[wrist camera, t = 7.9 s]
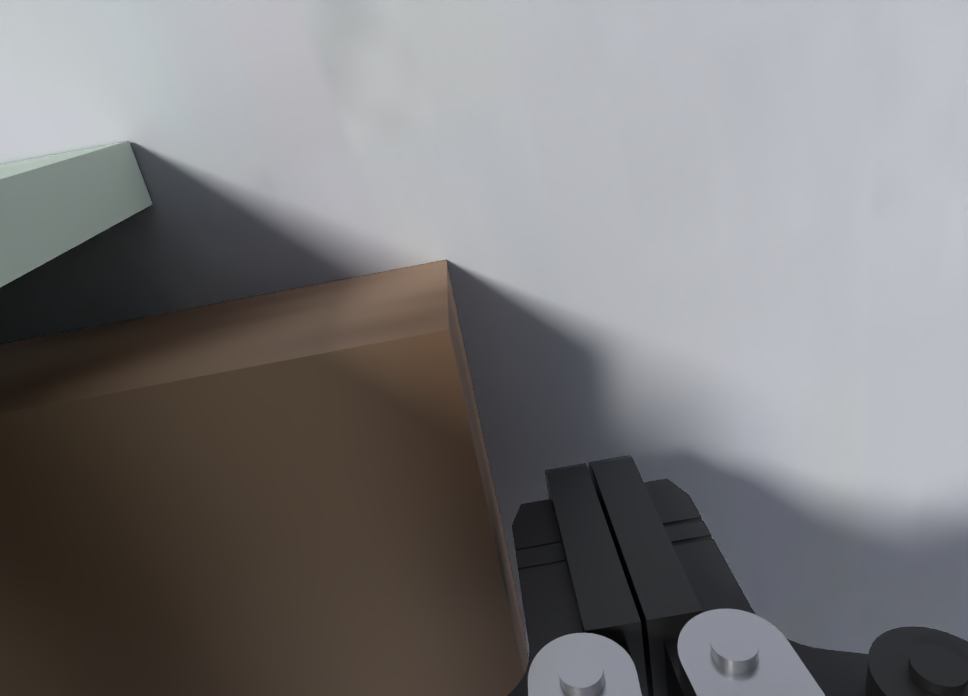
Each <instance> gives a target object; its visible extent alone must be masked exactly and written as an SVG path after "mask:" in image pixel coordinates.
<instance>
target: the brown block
mask: <svg viewBox="0 0 968 696" xmlns="http://www.w3.org/2000/svg"><path fill="white" fill-rule="evenodd" d="M528 662H529V660H528V653H527V646H526V639H525V633H524V628H523V623H522V619H521V614H520V609H519V604H518V599H517V595H516V590H515V585H514V580H513V576H512V571H511V566H510V561H509V556H508V552H507V547H506V542H505V537H504V533H503V528H502V523H501V518H500V513H499V509H498V504H497V499H496V494H495V490H494V485H493V480H492V475H491V470H490V466H489V461H488V456H487V451H486V447H485V442H484V437H483V432H482V428H481V423H480V418H479V413H478V408H477V404H476V399H475V394H474V389H473V385H472V380H471V375H470V370H469V365H468V361H467V356H466V351H465V346H464V342H463V337H462V332H461V327H460V322H459V318H458V313H457V308H456V303H455V299H454V294H453V289H452V284H451V279H450V275H449V270H448V265H447V260H442V261H436V262H431V263H426V264H421V265H415V266H410V267H405V268H400V269H395V270H389V271H384V272H379V273H374V274H368V275H363V276H358V277H353V278H347V279H342V280H337V281H332V282H327V283H321V284H316V285H311V286H306V287H300V288H295V289H290V290H285V291H279V292H274V293H269V294H264V295H258V296H253V297H248V298H243V299H238V300H232V301H227V302H222V303H217V304H211V305H206V306H201V307H196V308H190V309H185V310H180V311H175V312H169V313H164V314H159V315H154V316H149V317H143V318H138V319H133V320H128V321H122V322H117V323H112V324H107V325H101V326H96V327H91V328H86V329H80V330H75V331H70V332H65V333H60V334H54V335H49V336H44V337H39V338H33V339H28V340H23V341H18V342H12V343H7V344H2V345H0V696H507V695H509V694H510V693H511V692H512V691H513V689H514V688H515V687H516V686H517V685H518V683H519V682H520V681H521V679H522V677H523V675H524V673H525V671H526V669H527V665H528Z"/></svg>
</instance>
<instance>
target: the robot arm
mask: <svg viewBox="0 0 968 696" xmlns="http://www.w3.org/2000/svg"><path fill="white" fill-rule="evenodd" d="M545 475H546V482H547V489H548V495H549V499H548V500H543V501H537V502H531V503H525V504H521V506H520V508H519V510H518V513H517V515H516V518H515V520H514V522H513V525H512V530H513V537H514V544H515V550H516V557H517V564H518V571H519V578H520V585H521V592H522V599H523V606H524V613H525V619H526V626H527V633H528V640H529V650H530V655H529V662H528V665H527V669H526V671H525V673H524V675H523V677H522V679H521V681H520V682H519V683H518V685H517V686H516V687H515V688H514V689H513V691H512V692H511V693H510V694H509V695H507V696H968V642H967V641H965V640H963V639H961V638H959V637H956V636H954V635H951V634H949V633H946V632H942V631H939V630H935V629H930V628H924V627H901V628H896V629H892V630H890V631H887V632H885V633H883V634H882V635H880V636H879V637H878V638H877V639H876V640H875V641H874V642H873V644H872V646H871V648H870V650H869V654H861V653H852V652H843V651H834V650H824V649H818V648H812V647H808V646H805V645H801V644H798V643H796V642H793V641H791V640H789V639H787V638H785V636H784V635H783V634H782V633H781V631H779V630H778V629H777V628H776V627H775V626H774V625H773V624H771V623H770V622H768V621H767V620H765V619H763V618H761V617H759V616H757V615H756V614H755V613H754V611H753V610H752V608H751V606H750V605H749V603H748V601H747V599H746V597H745V596H744V594H743V592H742V590H741V588H740V586H739V585H738V583H737V581H736V579H735V577H734V576H733V574H732V572H731V570H730V568H729V567H728V565H727V563H726V561H725V559H724V557H723V556H722V554H721V552H720V550H719V548H718V547H717V545H716V543H715V541H714V539H712V538H711V534H710V532H709V530H708V528H707V527H706V525H705V523H704V521H702V519H701V516H700V514H699V512H698V510H697V509H696V507H695V505H694V503H693V501H692V499H691V498H690V496H689V495H688V494H687V493H686V492H684V491H683V490H681V489H680V488H679V487H677V486H676V485H675V484H673V483H672V482H671V481H669V480H668V479H662V480H656V481H651V482H645V483H644V482H643V480H642V478H641V476H640V474H639V472H638V469H637V467H636V465H635V463H634V461H633V459H632V457H631V456H630V455H629V456H623V457H617V458H611V459H606V460H600V461H594V462H589V470H588V467H587V465H586V463H584V464H578V465H572V466H567V467H561V468H555V469H549V470H545Z"/></svg>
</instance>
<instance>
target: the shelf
mask: <svg viewBox="0 0 968 696" xmlns="http://www.w3.org/2000/svg"><path fill="white" fill-rule="evenodd" d="M150 205H152V201H151V198H150V196H149V193H148V190H147V188H146V185H145V182H144V180H143V177H142V174H141V172H140V169H139V166H138V164H137V161H136V158H135V156H134V153H133V150H132V148H131V145H130V142H129V141H125V142H120V143H114V144H109V145H103V146H98V147H92V148H87V149H81V150H76V151H70V152H65V153H59V154H54V155H49V156H43V157H38V158H32V159H27V160H21V161H16V162H10V163H5V164H0V287H2V286H4V285H6V284H8V283H10V282H11V281H13V280H15V279H17V278H19V277H21V276H22V275H24V274H26V273H28V272H30V271H32V270H33V269H35V268H37V267H39V266H41V265H43V264H44V263H46V262H48V261H50V260H52V259H53V258H55V257H57V256H59V255H61V254H63V253H64V252H66V251H68V250H70V249H72V248H74V247H75V246H77V245H79V244H81V243H83V242H85V241H86V240H88V239H90V238H92V237H94V236H96V235H97V234H99V233H101V232H103V231H105V230H107V229H108V228H110V227H112V226H114V225H116V224H118V223H119V222H121V221H123V220H125V219H127V218H128V217H130V216H132V215H134V214H136V213H138V212H139V211H141V210H143V209H145V208H147V207H149V206H150Z"/></svg>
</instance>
